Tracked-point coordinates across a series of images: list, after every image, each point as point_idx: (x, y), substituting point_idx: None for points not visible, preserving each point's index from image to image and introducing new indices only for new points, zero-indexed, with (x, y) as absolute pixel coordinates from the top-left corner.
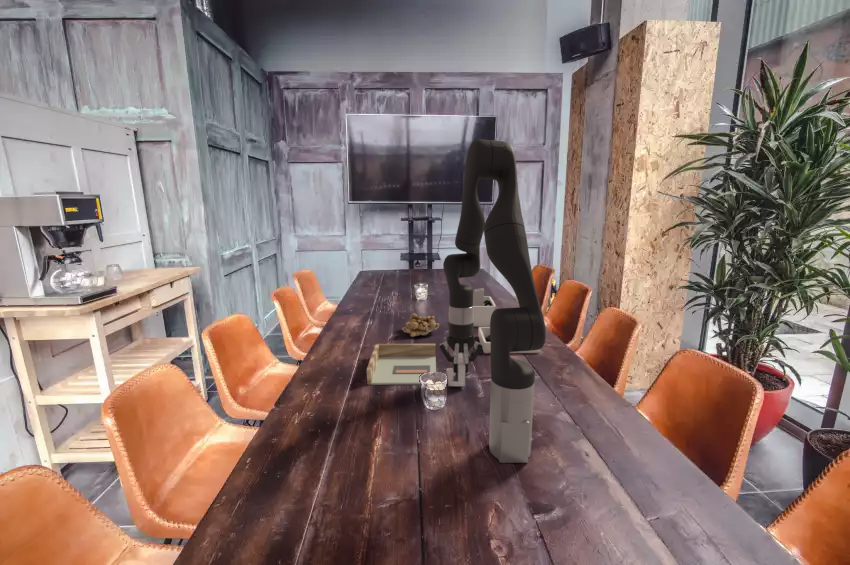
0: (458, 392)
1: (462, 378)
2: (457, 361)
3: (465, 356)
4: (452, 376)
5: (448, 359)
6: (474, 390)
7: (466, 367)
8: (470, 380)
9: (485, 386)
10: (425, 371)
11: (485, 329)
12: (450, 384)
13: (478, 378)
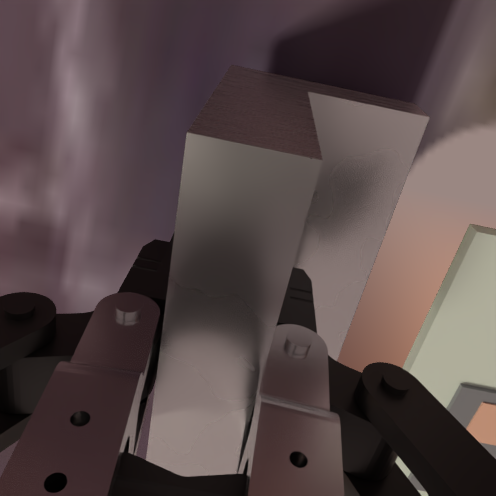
0: (322, 8)
1: (255, 89)
2: (270, 341)
3: (118, 368)
4: (329, 231)
5: (415, 396)
6: (142, 17)
7: (150, 275)
8: (140, 226)
9: (16, 81)
10: (486, 418)
11: None
12: (395, 101)
13: (63, 245)
